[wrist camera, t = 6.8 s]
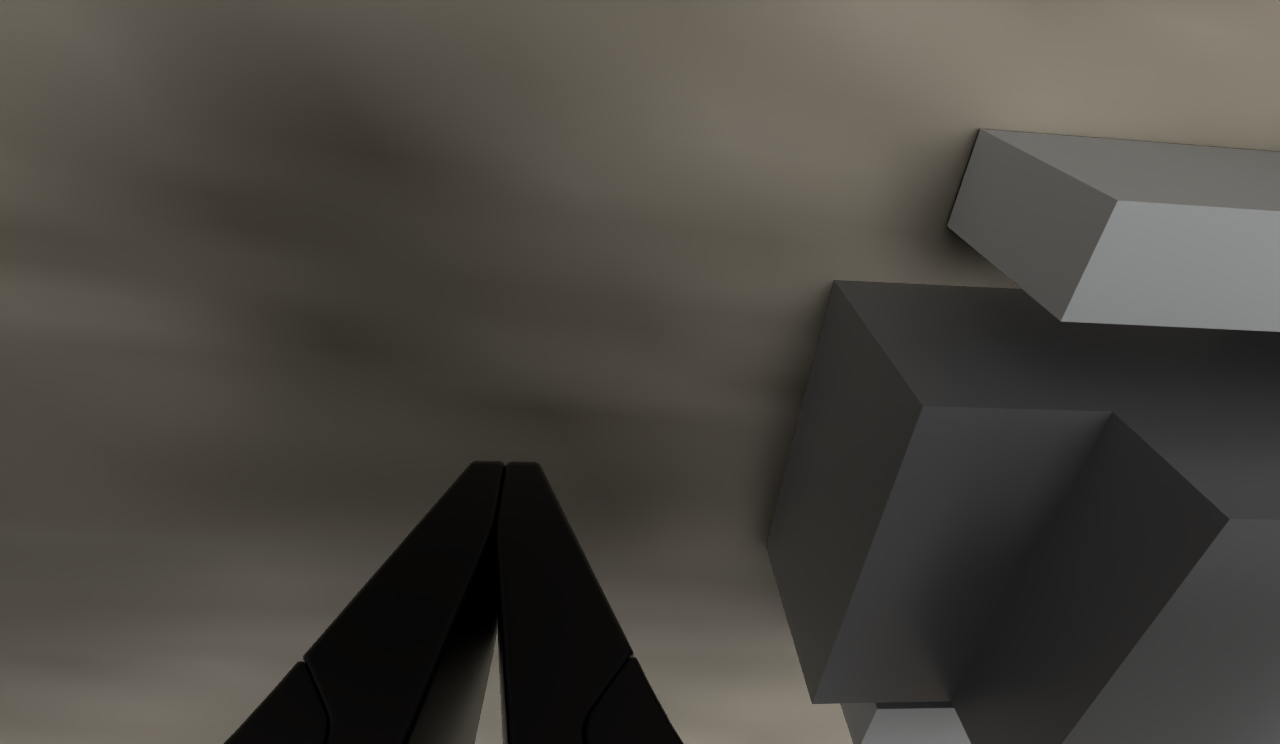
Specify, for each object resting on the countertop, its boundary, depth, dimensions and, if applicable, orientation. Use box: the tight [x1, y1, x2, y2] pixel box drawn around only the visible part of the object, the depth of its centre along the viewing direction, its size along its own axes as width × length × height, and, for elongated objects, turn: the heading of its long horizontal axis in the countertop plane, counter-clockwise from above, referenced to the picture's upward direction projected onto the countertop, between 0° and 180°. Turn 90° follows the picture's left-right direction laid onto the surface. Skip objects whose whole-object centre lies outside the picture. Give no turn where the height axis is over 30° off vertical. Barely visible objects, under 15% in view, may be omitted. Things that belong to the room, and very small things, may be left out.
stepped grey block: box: [766, 280, 1280, 744], centre depth 9 cm, size 5×6×4 cm
